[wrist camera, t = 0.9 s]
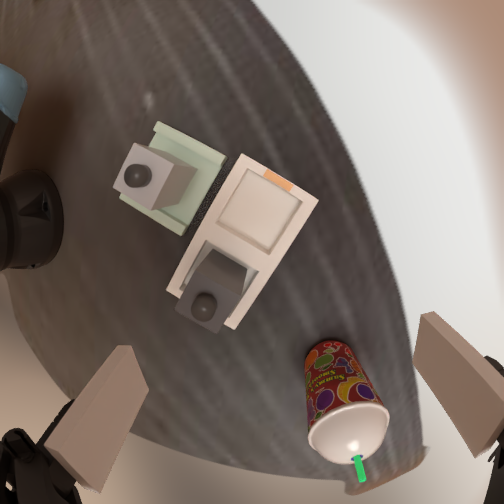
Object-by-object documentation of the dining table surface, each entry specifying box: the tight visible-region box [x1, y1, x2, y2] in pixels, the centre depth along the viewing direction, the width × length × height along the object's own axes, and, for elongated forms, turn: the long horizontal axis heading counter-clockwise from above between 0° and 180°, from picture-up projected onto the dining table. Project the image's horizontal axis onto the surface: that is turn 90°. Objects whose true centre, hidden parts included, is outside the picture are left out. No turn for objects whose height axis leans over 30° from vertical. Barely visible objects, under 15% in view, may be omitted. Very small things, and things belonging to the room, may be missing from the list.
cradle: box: [119, 121, 228, 236], centre depth 29 cm, size 9×10×2 cm
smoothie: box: [304, 340, 390, 482], centre depth 25 cm, size 8×8×20 cm
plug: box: [113, 143, 197, 211], centre depth 25 cm, size 4×4×10 cm
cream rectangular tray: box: [166, 154, 319, 334], centre depth 26 cm, size 9×17×10 cm, turn 149°
